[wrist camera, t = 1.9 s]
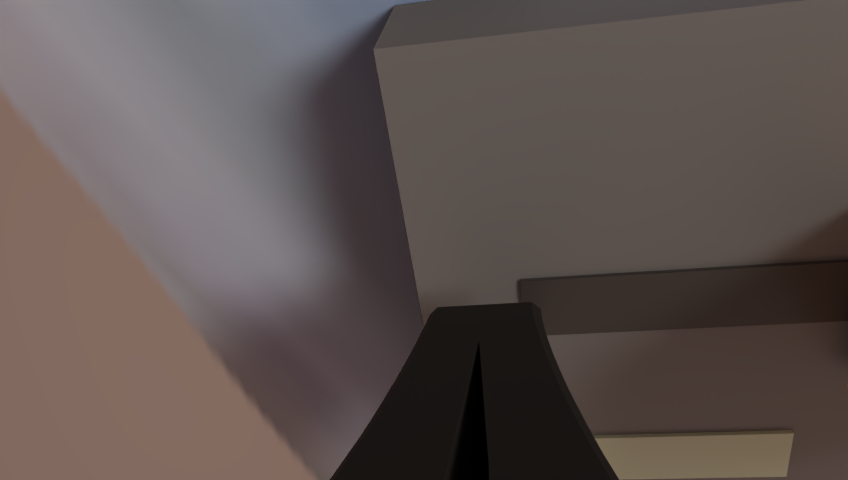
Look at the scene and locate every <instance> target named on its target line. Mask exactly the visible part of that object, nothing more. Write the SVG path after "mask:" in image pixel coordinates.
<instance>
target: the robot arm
mask: <svg viewBox="0 0 848 480" xmlns="http://www.w3.org/2000/svg"><path fill="white" fill-rule="evenodd" d="M330 480H619V478H618V477H617V475H616V474H615V472H614V470H613V469H612V467H611V465H610V464H609V462H608V460H607V459H606V457H605V456H604V454H603V452H602V450H601V449H600V447H599V445H598V443H597V442H596V440H595V438H594V436H593V435H592V433H591V431H590V429H589V427H588V425H587V423H586V422H585V420H584V418H583V416H582V414H581V412H580V410H579V408H578V406H577V404H576V402H575V400H574V398H573V396H572V395H571V393H570V391H569V388H568V386H567V384H566V382H565V380H564V378H563V376H562V373H561V371H560V369H559V366H558V364H557V361H556V359H555V357H554V354H553V352H552V349H551V346H550V344H549V341H548V338H547V335H546V331H545V328H544V324H543V320H542V315H541V309H540V308H539V307H538V306H536V305H535V304H534V303H532V302H521V303H502V304H484V305H466V306H448V307H437V308H436V309H435V310H434V311H433V312H432V313H431V314H430V316H429V318H428V320H427V322H426V324H425V326H424V328H423V330H422V332H421V334H420V336H419V338H418V340H417V342H416V344H415V346H414V348H413V350H412V352H411V354H410V356H409V357H408V359H407V361H406V363H405V365H404V366H403V368H402V370H401V372H400V373H399V375H398V377H397V379H396V380H395V382H394V384H393V385H392V387H391V389H390V390H389V392H388V393H387V395H386V397H385V398H384V400H383V402H382V403H381V405H380V406H379V408H378V410H377V411H376V413H375V415H374V416H373V418H372V419H371V421H370V423H369V424H368V426H367V427H366V429H365V430H364V432H363V433H362V435H361V436H360V438H359V439H358V441H357V442H356V443H355V445H354V446H353V448H352V449H351V450H350V452H349V453H348V455H347V456H346V458H345V459H344V460H343V462H342V463H341V465H340V466H339V468H338V469H337V470H336V472H335V473H334V475H333V476H332V478H331V479H330Z"/></svg>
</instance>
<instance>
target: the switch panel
mask: <svg viewBox="0 0 848 480" xmlns="http://www.w3.org/2000/svg"><path fill="white" fill-rule="evenodd" d="M373 51H374V56H375V62H376V67H377V73H378V78H379V84H380V89H381V95H382V100H383V106H384V111H385V117H386V122H387V128H388V133H389V139H390V144H391V150H392V155H393V161H394V166H395V172H396V177H397V183H398V188H399V194H400V199H401V205H402V210H403V216H404V221H405V227H406V232H407V238H408V243H409V249H410V254H411V260H412V265H413V271H414V276H415V282H416V287H417V293H418V298H419V304H420V309H421V315H422V320H423V326H425V324H426V322H427V320H428V318H429V316H430V314H431V313H432V312H433V311H434V310H435V309H436V308H437V307H448V306H466V305H484V304H502V303H521V302H532V303H534V304H535V305H536V306H538V307H539V308H540V309H541V315H542V320H543V324H544V328H545V331H546V335H547V338H548V341H549V344H550V346H551V349H552V352H553V354H554V357H555V359H556V361H557V364H558V366H559V369H560V371H561V373H562V376H563V378H564V380H565V382H566V384H567V386H568V388H569V391H570V393H571V395H572V396H573V398H574V400H575V402H576V404H577V406H578V408H579V410H580V412H581V414H582V416H583V418H584V420H585V422H586V423H587V425H588V427H589V429H590V431H591V433H592V435H593V436H594V438H595V440H596V442H597V443H598V445H599V447H600V449H601V450H602V452H603V454H604V456H605V457H606V459H607V460H608V462H609V464H610V465H611V467H612V469H613V470H614V472H615V474H616V475H617V477H618V478H619V480H848V387H847V383H848V0H434V1H426V2H417V3H409V4H401V5H395V6H394V8H393V10H392V12H391V14H390V16H389V18H388V20H387V22H386V24H385V26H384V28H383V30H382V32H381V34H380V36H379V38H378V40H377V43H376V45H375V47H374V49H373Z"/></svg>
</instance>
